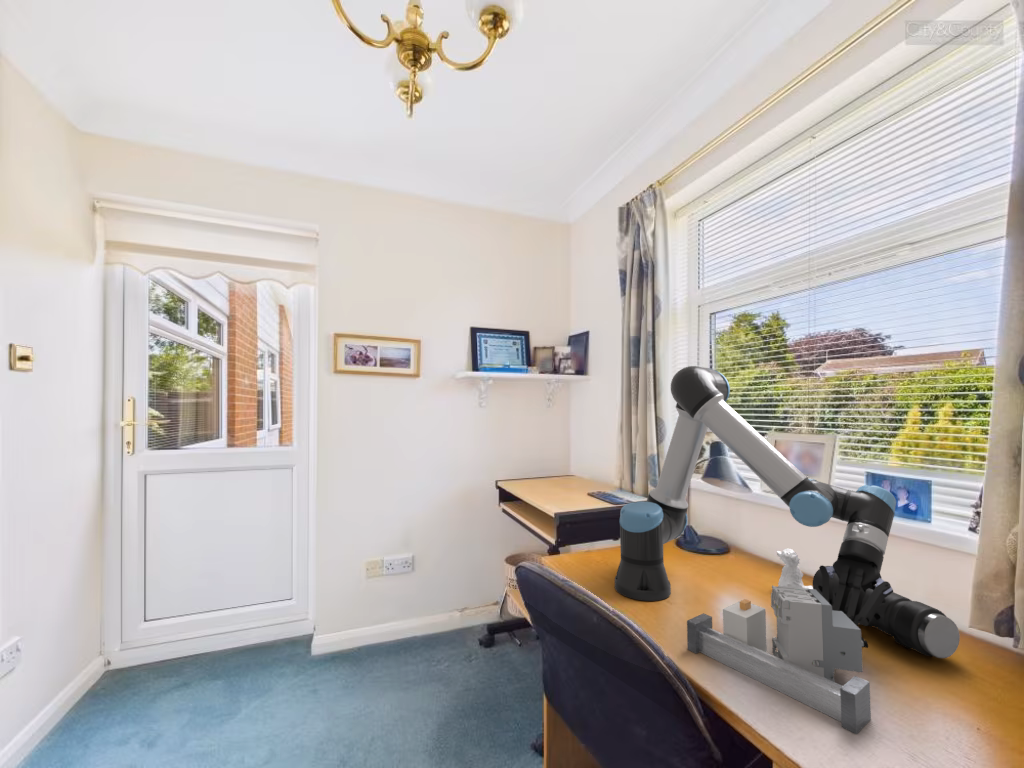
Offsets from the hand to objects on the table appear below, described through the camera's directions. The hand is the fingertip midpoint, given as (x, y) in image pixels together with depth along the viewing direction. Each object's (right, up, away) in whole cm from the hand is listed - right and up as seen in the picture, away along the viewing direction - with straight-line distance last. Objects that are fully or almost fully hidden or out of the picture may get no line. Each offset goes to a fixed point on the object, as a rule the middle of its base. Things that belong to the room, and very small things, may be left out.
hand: (835, 649), depth 90 cm
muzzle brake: (+20, -4, +14) cm, 24 cm away
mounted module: (-16, -3, +5) cm, 17 cm away
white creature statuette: (+14, -5, +35) cm, 38 cm away
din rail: (-16, -3, -5) cm, 17 cm away
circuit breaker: (-6, -3, -4) cm, 8 cm away
